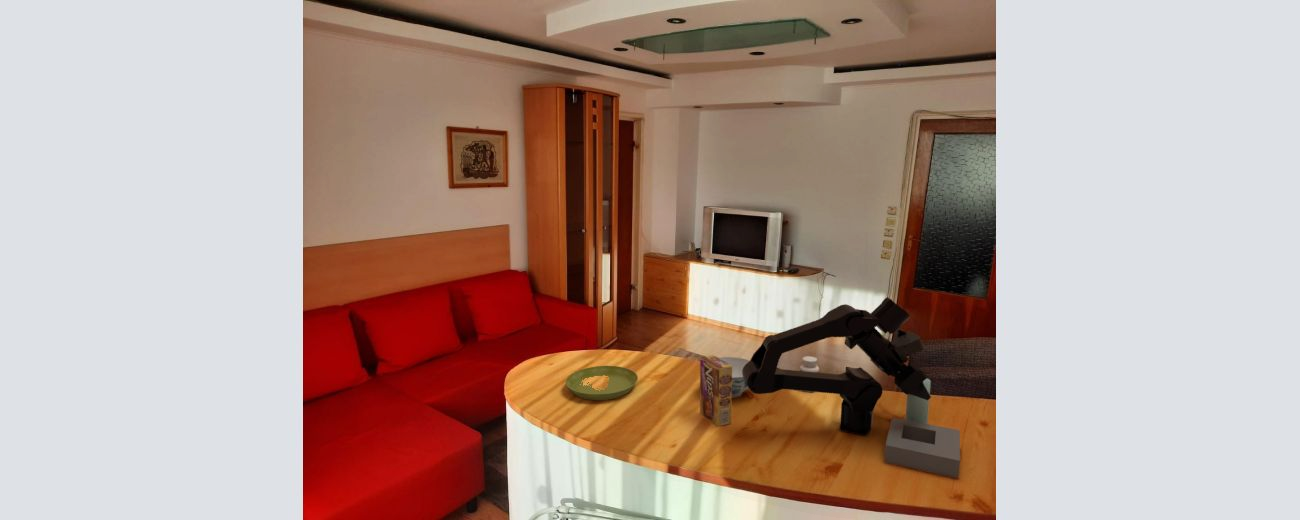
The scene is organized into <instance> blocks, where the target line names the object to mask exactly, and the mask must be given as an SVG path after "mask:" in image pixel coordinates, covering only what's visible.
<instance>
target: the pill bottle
mask: <svg viewBox="0 0 1300 520" xmlns="http://www.w3.org/2000/svg"><path fill="white" fill-rule="evenodd" d="M799 371H805V372H816V373H820V367H819V366H818V358H817V357H815V356H810V355H809V356H803V357H802V364H801V365H800V366H799ZM805 392H806V393H807V392H808V393H811V392H810V391H805Z"/></svg>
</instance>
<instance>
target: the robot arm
mask: <svg viewBox="0 0 1300 520" xmlns="http://www.w3.org/2000/svg"><path fill="white" fill-rule="evenodd" d="M910 318H911V316H910V314H909V312H907V311H906V310H905V309H904V308H903V307H900V306H899V305H898V304H897V303H896V302H894V300H893V299H891V298H889V297H885V298H884V299H883V300H882V302H881V303H880V304H879V305H878V306H877V307H875V309H874V310H872V311H871V312H869V311H868V310H867V309H859V308H854V307H853V306H852V305H850V304H846V303H845V304H841V305H838V306H837V307H835V308H833V309H831V310H829V311H828V312H827V313H825V315H823V316H822V317H821V318H819V319H816V320H813V321H811V322H808V323H804V324H801V325H798V326H795V327H793V328H790V329H787V330H785V331H782V332H778V333H775V334H770V335H768V336H766V337H765V338H764V339H763V341H762V343H761V345H760V346H759V347H758V348H757V349H756V350H755V351H754V352H753V354H752V355H751V358H750V359H749V360H750V361H749V362H748V363H747V364H745V366H744V367H743V370H742V375H743V378H744V380H745V382H746V384H747V386H748V387H749V388H748V389H749V390H750V392H752V393H754V394H757V395H762V394H763V395H766V394H774V393H777V392H779V391H781V390H791V391H801V392H806V391H810V392H809V393H825V394H832V395H833V394H834V395H835V394H836V395H839V397H840V398H842V402H841V407H840V408H841V409H840V424H839V427H838V431H841V432H847V433H851V434H856V435H859V436H865V437H867V436H868V435H869V431H872V429H873V428H872V427H873V416H874V410H875V407H876V405H877V403H878V401H879V399H881V397H882V394H883V386H882V384H881V383H880V382H879V381H878V380H876V379H875V378H874V377H873V376H872V375H871V374H870V373H869V372H868V371H866V370H865V369H863V368H862V367H858V368H857V367H856V368H854V367H852V366H851V367H850V366H846V367H845V372H842V373H840V374H839V373H838V374H837V373H828V372H824V373H823V372H819V373H816V372H805V371H800V370H792V369H783V368H779V367H778V365H779V361H780V358H781V357H782V355H783V354H784V353H788V352H790V351H793V350H796V349H799V348H803V347H804V346H807V345H811V344H814V343H816V342H819V341H821V340H822V341H823V340H825V339H828V338H845V339H844V345H845V346H846V347H848V349H850V350H853V349H854V348H855V347H856V346H857V347H858V348H859V349H860V350H861V351H862V352H863V353H864V354H865V355H866V356H867V357H868V358H869V359H870V361H871V363H873V364H874V366H876V367H877V368H878V369H879V370H880V371H882V372H883V373H885V374H886V375H887V376H888V377H889V376H891V377H893V378H894V379H893V380H894V381H893V384H895V385H896V386H897V388H899V389H900V391H902V393H904V394H905V395H907V394H910V395H914V396H917V397H919V398H922V399H925V400H929V401H930V399H932V397H931V394H930V395H929V393H928V391H927V389H926V387H925V386H924V384H923V381H924V380H925V379H927V377H928V375H927V374H926V373H925V372H924V371H923V370H922V369H921V368H920V367H918V366H917V365H916V364H908V365H906V363H907V362H908V361H909V360H910V359H909V358H908V357H909V356H912V355H914V354H917V353H921V352H923V351H924V350H925V347H924V344H923V342H922V340H921V337H920V336H919V335H918V334H916V333H914V332H911V331H909V330H908V331H907V332H906V331H905V330H903V329H902V328H901V327H902V326H903V324H905V323H906V322H907V321H908V320H909V319H910ZM876 328H877V329H879V330H877V329H876ZM880 332H882V333H883V334H885V335H886V334H887V333H888V334H889V335H893V334H894V335H893V338H892V340H891V341H890V340H889V339H888V338H885V337H884V335H883V334H882V333H880Z"/></svg>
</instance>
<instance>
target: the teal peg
mask: <svg viewBox="0 0 1300 520" xmlns="http://www.w3.org/2000/svg"><path fill="white" fill-rule="evenodd" d="M931 383H932V381H931V379H929V378H927V379H925V380H924V381H923V384H924V386H925V387H926V389H927V391H928V393H929V395H930V396H931ZM929 407H930V399H929V400H925V399H922V398H919V397H917V396H914V395H910V394H906V407H905V419H904V420H908V421H914V422H919V423H924V424H928V420H929V419H928V418H929Z"/></svg>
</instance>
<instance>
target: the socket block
mask: <svg viewBox="0 0 1300 520" xmlns="http://www.w3.org/2000/svg"><path fill="white" fill-rule="evenodd" d="M888 429H889V430H888V433H887V437H886V440H885V441H886V442H885V446H884V448H885V449H884V459H883V461H884V463H887V464H891V465H895V466H896V465H897V466H901V467H904V468H909V469H914V470H918V471H922V472H927V473H932V474H936V475H940V476H945V477H948V478H949V477H950V478H954V479H959V476H960V475H959V474H960V467H961V466H960V463H961V433H960V432H961V430H960V429H955V428H950V427H945V426H940V425H934V424H928V423H927V424H924V423H919V422H914V421H908V420H905V419H903V418H897V417H891V420H890V425H889V428H888Z"/></svg>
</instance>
